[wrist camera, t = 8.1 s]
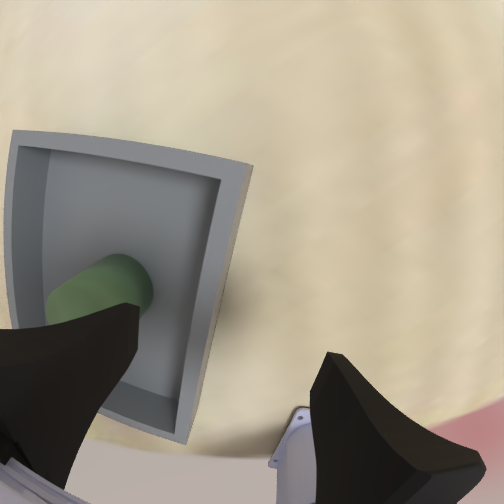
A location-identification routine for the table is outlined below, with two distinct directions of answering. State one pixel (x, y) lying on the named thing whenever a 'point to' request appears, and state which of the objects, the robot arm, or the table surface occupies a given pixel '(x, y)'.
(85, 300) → the green rounded tapered piece
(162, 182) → the bin
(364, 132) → the table surface
